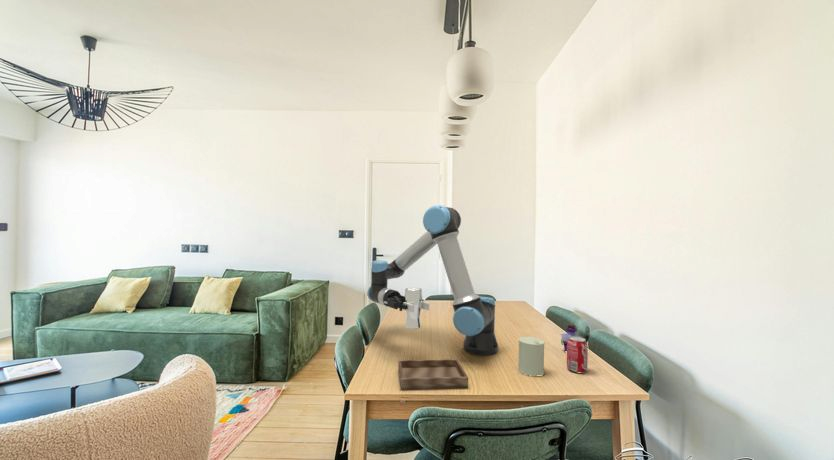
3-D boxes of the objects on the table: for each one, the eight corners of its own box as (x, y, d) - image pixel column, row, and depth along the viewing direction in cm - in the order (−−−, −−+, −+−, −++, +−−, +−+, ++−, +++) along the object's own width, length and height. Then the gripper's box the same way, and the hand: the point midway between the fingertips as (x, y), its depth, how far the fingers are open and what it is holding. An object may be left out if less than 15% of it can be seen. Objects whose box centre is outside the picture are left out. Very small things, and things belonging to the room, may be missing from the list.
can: (531, 378, 117) (532, 344, 117) (512, 369, 125) (513, 337, 126) (549, 374, 121) (550, 341, 122) (530, 365, 130) (531, 334, 130)
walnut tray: (457, 368, 125) (457, 359, 125) (467, 388, 109) (468, 377, 109) (398, 369, 122) (398, 360, 122) (400, 390, 106) (400, 379, 107)
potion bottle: (556, 348, 149) (557, 321, 149) (575, 348, 150) (576, 322, 150) (566, 355, 141) (566, 327, 141) (586, 355, 141) (586, 327, 141)
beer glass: (419, 330, 128) (420, 290, 128) (402, 328, 129) (403, 290, 130) (423, 325, 135) (423, 288, 135) (406, 324, 136) (407, 287, 136)
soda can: (585, 368, 127) (586, 337, 128) (588, 375, 121) (589, 342, 121) (565, 365, 130) (566, 334, 130) (567, 372, 123) (568, 340, 123)
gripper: (408, 304, 152) (440, 314, 134) (370, 309, 141) (399, 321, 122) (408, 287, 153) (440, 295, 134) (370, 291, 141) (400, 300, 122)
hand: (421, 307), depth 128 cm, fingers closed on beer glass, 6 cm apart
